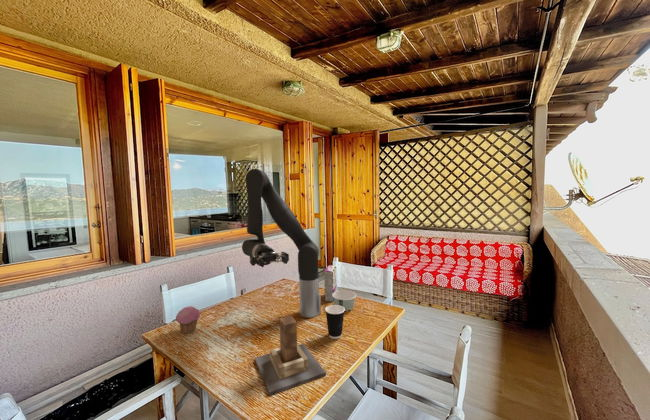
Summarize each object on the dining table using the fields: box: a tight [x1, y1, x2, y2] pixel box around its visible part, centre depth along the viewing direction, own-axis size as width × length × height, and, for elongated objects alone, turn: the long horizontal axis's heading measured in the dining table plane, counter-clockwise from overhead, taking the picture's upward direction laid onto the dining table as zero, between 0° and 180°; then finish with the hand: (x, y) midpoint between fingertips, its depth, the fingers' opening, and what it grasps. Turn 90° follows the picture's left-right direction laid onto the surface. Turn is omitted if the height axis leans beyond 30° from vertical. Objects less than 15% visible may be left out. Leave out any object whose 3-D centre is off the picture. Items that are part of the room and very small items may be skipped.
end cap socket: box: [254, 343, 327, 397], centre depth 88 cm, size 18×18×4 cm
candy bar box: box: [323, 264, 338, 303], centre depth 146 cm, size 11×5×16 cm, turn 168°
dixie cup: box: [324, 304, 345, 340], centre depth 107 cm, size 8×8×11 cm
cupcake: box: [175, 305, 201, 334], centre depth 112 cm, size 9×9×10 cm
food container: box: [332, 290, 357, 312], centre depth 134 cm, size 12×12×6 cm
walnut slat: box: [279, 315, 298, 364], centre depth 88 cm, size 4×5×15 cm
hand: (274, 262), depth 97 cm, fingers open, 8 cm apart
